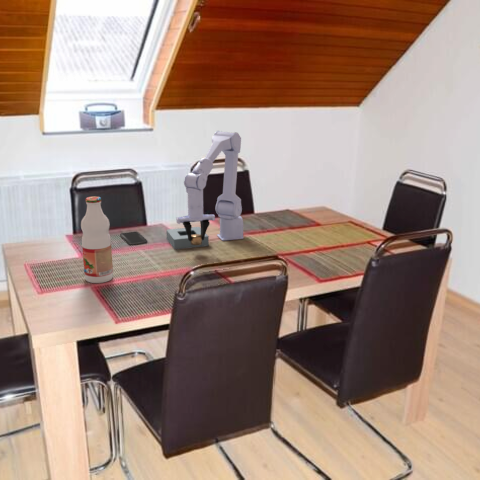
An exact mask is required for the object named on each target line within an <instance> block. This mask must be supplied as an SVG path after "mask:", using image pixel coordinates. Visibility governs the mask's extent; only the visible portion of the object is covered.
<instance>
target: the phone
mask: <svg viewBox="0 0 480 480" xmlns="http://www.w3.org/2000/svg"><path fill="white" fill-rule="evenodd" d="M119 236H120V237H121V238H122V239H123V241H126V242H125V243H126V244H127V245H129V246H136V245H143V244H147V243H148V240H147V238H145V237H144V235H142V234H141V233H140V232H139V231H129V232H122V233H120V234H119Z"/></svg>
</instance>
